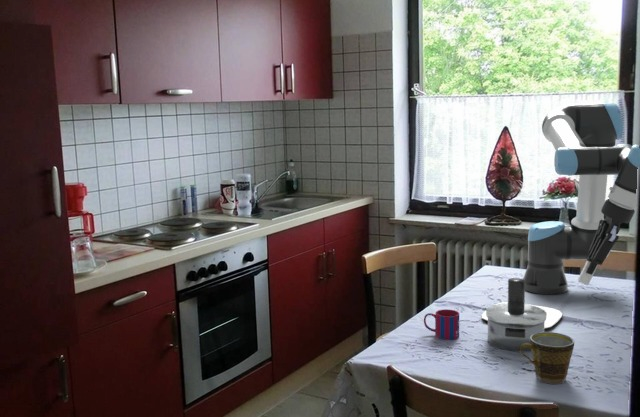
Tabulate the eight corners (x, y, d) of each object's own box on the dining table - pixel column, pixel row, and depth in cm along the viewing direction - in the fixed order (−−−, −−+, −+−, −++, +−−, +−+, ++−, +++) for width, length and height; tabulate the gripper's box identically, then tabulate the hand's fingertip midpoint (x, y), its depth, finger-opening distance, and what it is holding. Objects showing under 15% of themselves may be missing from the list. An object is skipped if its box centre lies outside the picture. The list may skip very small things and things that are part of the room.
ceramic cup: (559, 368, 166) (561, 330, 164) (581, 385, 156) (582, 344, 155) (510, 373, 164) (511, 334, 163) (529, 390, 154) (530, 349, 153)
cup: (456, 341, 187) (456, 317, 185) (421, 337, 191) (421, 314, 189) (461, 333, 193) (461, 310, 191) (427, 329, 197) (427, 307, 195)
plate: (567, 314, 207) (567, 309, 207) (547, 336, 189) (547, 330, 189) (499, 304, 219) (499, 299, 219) (474, 323, 201) (474, 318, 201)
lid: (487, 305, 194) (488, 271, 192) (545, 309, 189) (546, 274, 187) (484, 323, 179) (484, 286, 177) (547, 327, 174) (548, 290, 172)
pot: (489, 327, 197) (490, 304, 196) (543, 331, 192) (543, 307, 191) (485, 352, 178) (485, 327, 177) (544, 357, 173) (545, 331, 172)
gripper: (602, 192, 179) (566, 268, 187) (611, 205, 167) (572, 286, 174) (630, 202, 178) (592, 278, 186) (641, 216, 166) (600, 297, 174)
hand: (582, 282), depth 180 cm, fingers closed
